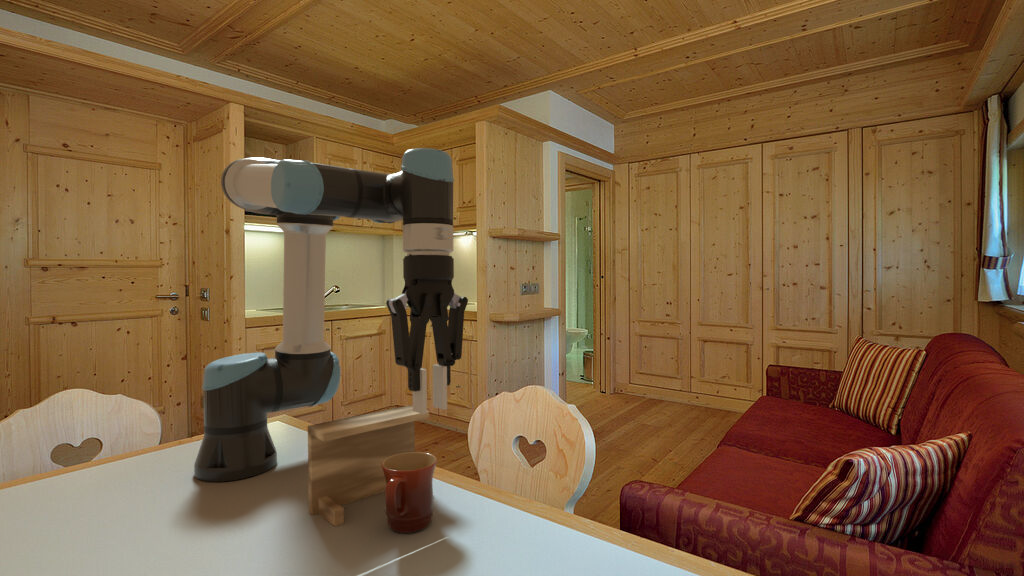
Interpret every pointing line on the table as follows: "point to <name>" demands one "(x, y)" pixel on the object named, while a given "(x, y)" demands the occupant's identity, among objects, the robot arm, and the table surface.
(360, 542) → the table surface
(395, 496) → the mug
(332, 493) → the wooden standing sign
